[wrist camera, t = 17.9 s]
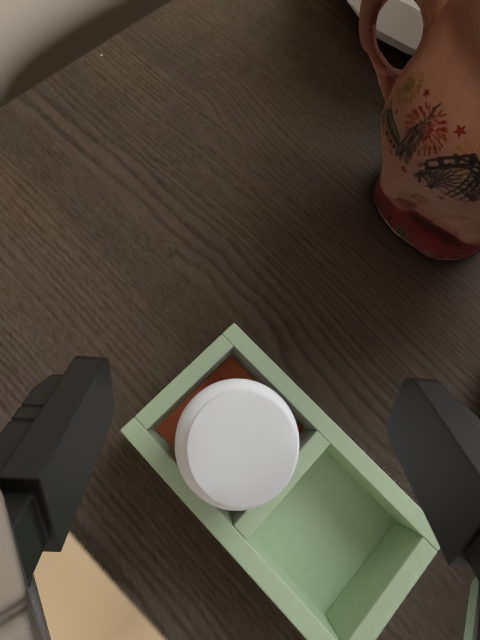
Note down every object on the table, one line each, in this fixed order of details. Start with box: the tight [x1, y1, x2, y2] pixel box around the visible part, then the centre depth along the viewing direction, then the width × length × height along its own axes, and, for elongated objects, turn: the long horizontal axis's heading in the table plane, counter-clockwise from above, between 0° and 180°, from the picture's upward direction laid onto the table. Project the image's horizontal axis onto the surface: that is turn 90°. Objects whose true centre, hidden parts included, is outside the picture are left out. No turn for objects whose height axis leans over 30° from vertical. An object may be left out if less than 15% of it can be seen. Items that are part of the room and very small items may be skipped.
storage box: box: [120, 323, 440, 640], centre depth 20 cm, size 8×16×3 cm, turn 45°
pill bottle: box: [175, 379, 299, 511], centre depth 17 cm, size 5×5×10 cm
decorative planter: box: [359, 0, 480, 260], centre depth 21 cm, size 20×12×14 cm, turn 50°
